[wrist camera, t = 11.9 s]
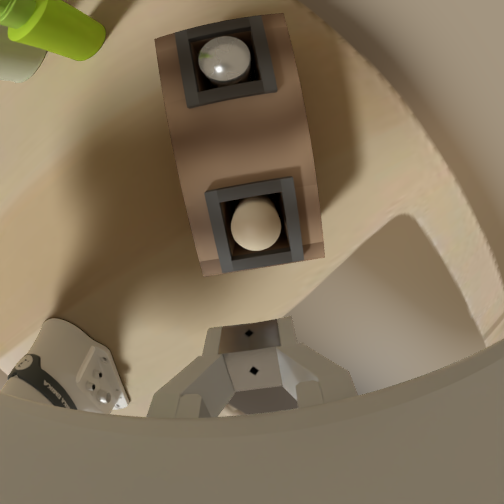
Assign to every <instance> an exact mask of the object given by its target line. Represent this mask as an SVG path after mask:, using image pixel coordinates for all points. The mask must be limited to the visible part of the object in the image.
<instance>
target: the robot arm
mask: <svg viewBox="0 0 504 504" xmlns="http://www.w3.org/2000/svg"><path fill="white" fill-rule="evenodd" d="M277 321H278V323H277ZM276 386H283V387H284V388H285V389H286V390H287V391H288V392H289V393H290V394H291V395H292V396H293V397H294V398H295V399H296V400H297V403H298V408H297V409H290V410H283V411H276V412H268V413H261V414H251V415H240V416H227V417H218V415H219V414H220V413H221V411H222V410H223V409H224V407H225V406H226V404H227V403H228V402H229V400H230V399H231V398H232V396H233V395H234V394H235V392H236V391H244V390H252V389H258V388H268V387H276ZM128 404H129V399H128V397H127V395H126V392H125V390H124V387H123V385H122V382H121V380H120V377H119V374H118V372H117V369H116V366H115V364H114V361H113V358H112V355H111V352H110V350H109V349H108V348H107V347H105V346H103V345H102V344H100V343H98V342H96V341H94V340H92V339H91V338H90V337H88V336H87V335H86V334H85V333H84V332H83V331H82V330H80V329H79V328H77V327H76V326H74V325H73V324H71V323H69V322H67V321H64V320H61V319H56V318H52V319H48V320H46V321H45V322H44V323H43V325H42V328H41V330H40V333H39V335H38V337H37V339H36V340H35V342H34V344H33V346H32V347H31V349H30V350H29V352H28V353H27V354H26V355H25V356H24V357H23V358H22V359H21V360H20V361H19V362H18V363H17V364H16V366H15V367H14V368H13V370H12V371H11V373H10V374H9V375H8V381H7V382H6V384H5V385H4V386H3V388H2V389H1V390H0V504H504V339H502V340H500V341H498V342H497V343H495V344H493V345H491V346H489V347H487V348H485V349H483V350H481V351H479V352H477V353H475V354H473V355H471V356H468V357H466V358H464V359H462V360H460V361H457V362H455V363H453V364H450V365H448V366H445V367H443V368H441V369H438V370H436V371H433V372H430V373H428V374H425V375H423V376H420V377H417V378H414V379H411V380H408V381H405V382H403V383H399V384H396V385H393V386H390V387H387V388H384V389H380V390H377V391H373V392H370V393H366V394H362V395H358V394H357V391H356V388H355V386H354V383H353V381H352V378H351V375H350V373H349V371H347V370H345V369H344V368H342V367H341V366H339V365H337V364H335V363H334V362H332V361H330V360H329V359H327V358H326V357H324V356H322V355H321V354H319V353H317V352H316V351H314V350H312V349H311V348H309V347H308V346H306V345H304V344H303V343H297V338H296V334H295V329H294V325H293V320H292V317H291V316H289V317H284V318H279V319H275V320H269V321H263V322H257V323H251V324H250V323H249V324H240V325H232V326H223V327H214V328H209V329H208V331H207V335H206V340H205V345H204V349H203V354H202V356H198V357H197V358H196V359H195V360H194V361H192V362H191V363H190V364H189V365H188V366H187V367H185V368H184V369H183V370H182V371H181V372H180V373H178V374H177V375H176V376H175V377H174V378H173V379H171V380H170V381H169V382H168V383H167V384H165V385H164V386H163V387H162V388H161V389H159V390H158V391H157V392H156V393H155V394H154V396H153V399H152V402H151V405H150V408H149V411H148V414H147V417H134V416H122V415H111V414H110V413H111V411H112V410H114V409H122V408H125V407H127V406H128Z"/></svg>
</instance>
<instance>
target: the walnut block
mask: <svg viewBox="0 0 504 504" xmlns="http://www.w3.org/2000/svg"><path fill="white" fill-rule="evenodd" d="M222 36H230V37H234V38H237V39H239V40H241V41H242V42H244V43H245V44H246V46H247V47H248V49H249V52H250V60H252V63H253V68H254V72H255V77H256V81H252V82H246V83H240V84H235V85H229V86H224V87H220V88H215V89H211V84H210V81H209V80H208V78H207V77H206V76H205V74H204V73H203V72H202V70H201V68H200V66H199V62H198V58H199V54H200V51H201V49H202V48H203V46H204V45H205V44H206V43H208V42H209V41H211V40H212V39H215V38H218V37H222ZM155 46H156V53H157V60H158V67H159V74H160V80H161V86H162V92H163V98H164V104H165V109H166V115H167V120H168V126H169V131H170V136H171V141H172V146H173V151H174V156H175V161H176V166H177V170H178V175H179V179H180V184H181V189H182V193H183V197H184V202H185V206H186V210H187V214H188V219H189V223H190V227H191V231H192V235H193V239H194V243H195V247H196V251H197V255H198V259H199V262H200V266H201V270H202V274H203V277H205V276H212V275H218V274H225V273H231V272H238V271H244V270H251V269H257V268H263V267H270V266H276V265H282V264H288V263H294V262H300V261H306V260H312V259H318V258H324V257H325V252H324V241H323V231H322V221H321V212H320V203H319V195H318V187H317V180H316V172H315V165H314V159H313V152H312V146H311V139H310V133H309V127H308V122H307V116H306V111H305V105H304V100H303V95H302V90H301V85H300V80H299V75H298V71H297V66H296V62H295V57H294V53H293V49H292V45H291V41H290V37H289V33H288V29H287V25H286V21H285V17H284V14H283V13H279V14H268V15H259V16H251V17H244V18H238V19H232V20H226V21H221V22H216V23H211V24H207V25H203V26H198V27H194V28H190V29H187V30H183V31H179V32H176V33H173V34H169V35H166V36H163V37H160V38H157V39H155ZM271 193H277V199H278V205H279V212H280V218H281V220H280V222H281V231H280V235H279V237H278V239H277V240H276V242H275V243H274V244H273V245H272V246H270V247H269V248H267V249H264V250H260V251H253V250H248V249H245V248H243V247H242V246H240V245H239V244H238V243H237V242H236V241H235V239H234V237H233V235H232V232H231V222H232V218H233V215H234V212H235V209H234V204H233V200H236V199H242V198H247V197H253V196H259V195H265V194H271Z"/></svg>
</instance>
